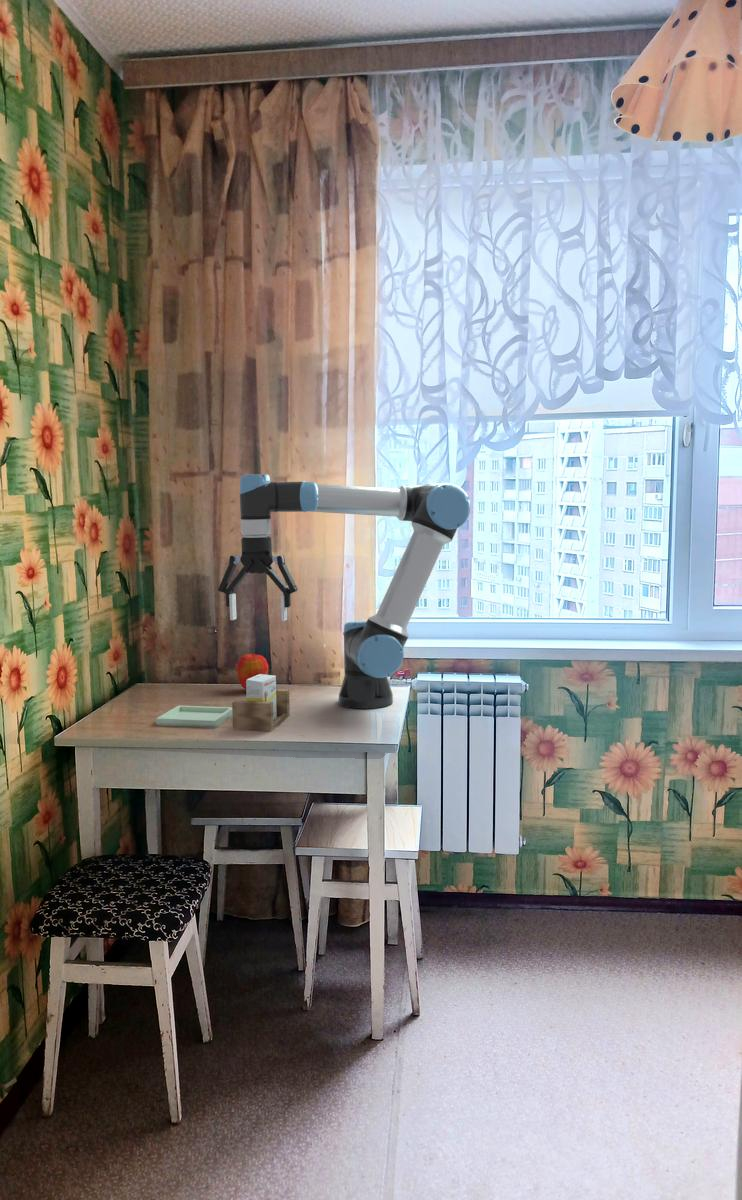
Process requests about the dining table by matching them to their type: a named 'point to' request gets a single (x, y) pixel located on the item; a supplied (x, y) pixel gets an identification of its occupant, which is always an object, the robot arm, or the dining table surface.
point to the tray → (195, 716)
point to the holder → (260, 713)
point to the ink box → (262, 690)
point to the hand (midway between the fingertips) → (258, 620)
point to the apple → (251, 667)
